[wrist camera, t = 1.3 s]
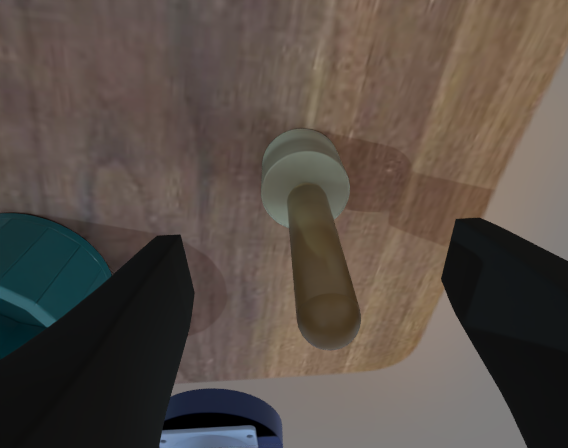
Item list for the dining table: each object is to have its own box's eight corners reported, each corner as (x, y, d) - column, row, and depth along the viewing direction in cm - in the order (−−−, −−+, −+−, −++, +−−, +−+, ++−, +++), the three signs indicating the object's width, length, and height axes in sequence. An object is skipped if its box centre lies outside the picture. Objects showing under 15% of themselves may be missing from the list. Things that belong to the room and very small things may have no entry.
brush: (337, 197, 16) (401, 385, 8) (265, 201, 16) (261, 393, 8) (340, 125, 14) (424, 278, 7) (259, 130, 14) (247, 287, 7)
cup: (130, 322, 20) (100, 395, 16) (-2, 330, 20) (-62, 404, 16) (86, 207, 16) (33, 269, 12) (-80, 217, 16) (-181, 281, 12)
